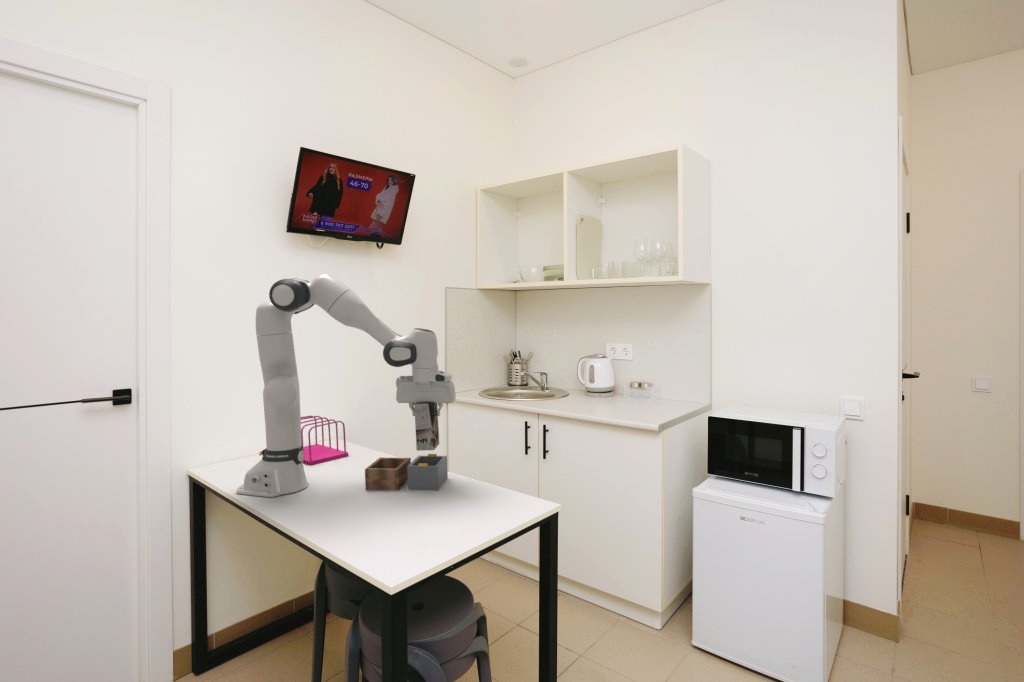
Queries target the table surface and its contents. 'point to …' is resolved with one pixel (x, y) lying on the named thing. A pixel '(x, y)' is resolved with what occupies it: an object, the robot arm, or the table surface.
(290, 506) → the table surface
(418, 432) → the coffee box
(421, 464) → the frame
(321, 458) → the file sorter
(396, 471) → the open wooden box
